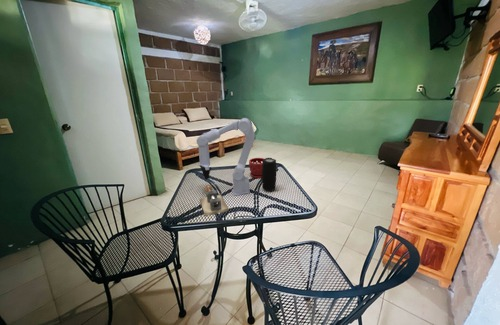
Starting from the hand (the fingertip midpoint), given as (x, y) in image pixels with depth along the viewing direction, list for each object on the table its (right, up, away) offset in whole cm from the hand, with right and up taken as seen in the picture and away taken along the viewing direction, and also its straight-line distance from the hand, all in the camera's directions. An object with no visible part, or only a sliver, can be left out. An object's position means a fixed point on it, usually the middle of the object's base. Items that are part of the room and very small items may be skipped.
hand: (206, 177), depth 121 cm
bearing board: (+7, -14, -13) cm, 20 cm away
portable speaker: (+38, -8, +5) cm, 39 cm away
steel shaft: (+5, -11, -10) cm, 16 cm away
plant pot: (+32, -1, +26) cm, 42 cm away
